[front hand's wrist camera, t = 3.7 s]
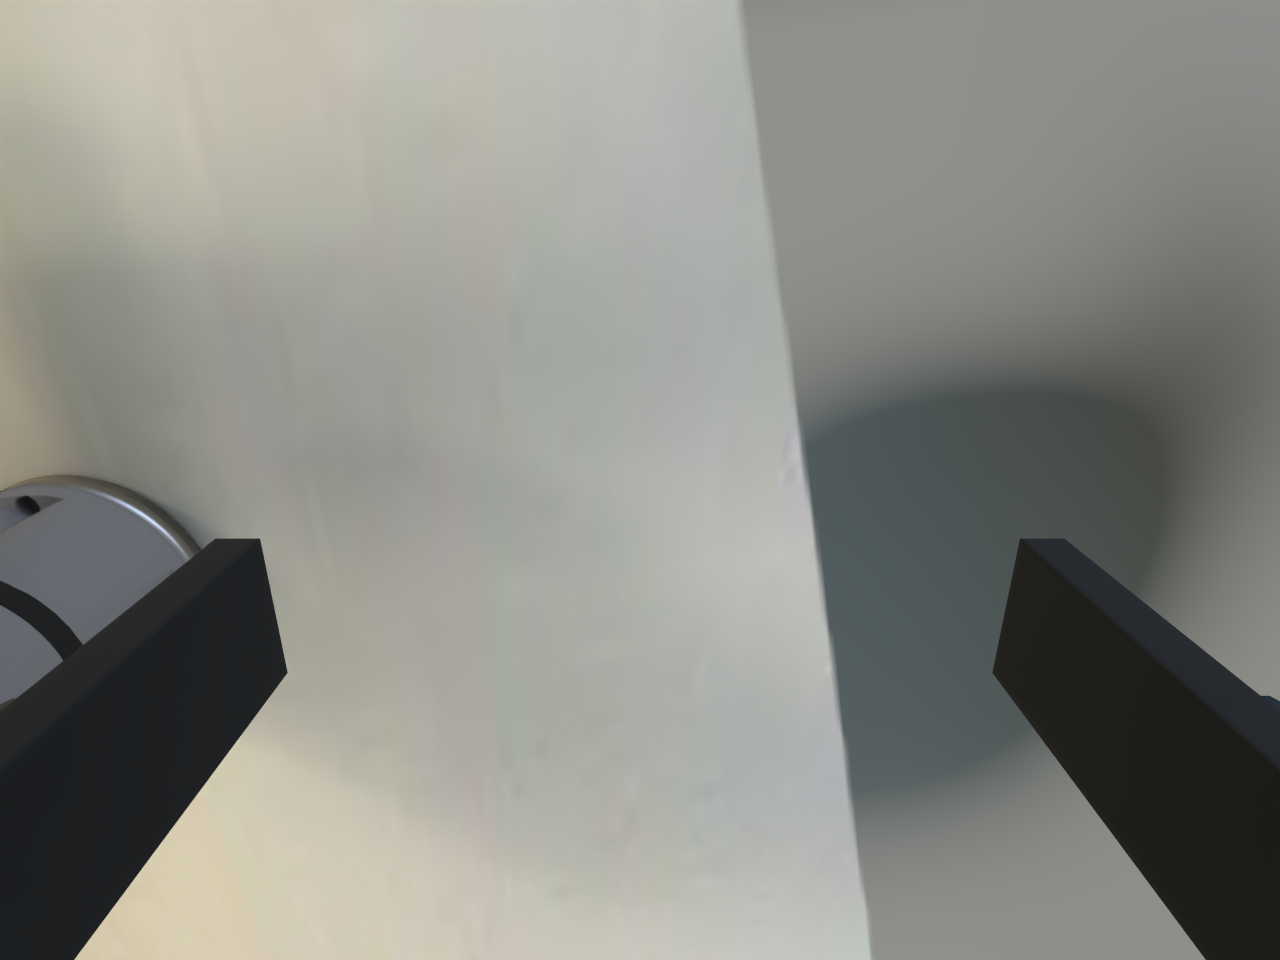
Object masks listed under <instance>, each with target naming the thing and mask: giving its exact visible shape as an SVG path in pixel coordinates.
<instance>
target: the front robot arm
mask: <svg viewBox="0 0 1280 960" xmlns="http://www.w3.org/2000/svg"><path fill="white" fill-rule="evenodd" d="M286 674H287V668H286V663H285V658H284V653H283V649H282V644H281V639H280V634H279V629H278V624H277V619H276V614H275V610H274V605H273V600H272V595H271V590H270V585H269V580H268V575H267V571H266V566H265V561H264V556H263V551H262V546H261V541H260V539H215V540H213V541H212V542H211V543H210V544H208V545H207V546H206V547H205V548H203V549H202V550H201V551H200V549H199V548H198V547H197V545H196V544H195V542H194V541H193V540H192V539H191V537H190V536H189V535H188V534H187V533H186V532H185V531H184V530H183V529H182V528H181V527H180V525H179V524H178V523H177V522H175V521H174V520H173V519H172V518H171V517H170V516H168V515H167V514H166V513H165V512H163V511H162V510H161V509H159V508H158V507H157V506H155V505H154V504H152V503H151V502H149V501H147V500H146V499H144V498H142V497H140V496H138V495H137V494H135V493H133V492H131V491H128V490H126V489H124V488H121V487H119V486H116V485H113V484H110V483H108V482H104V481H100V480H96V479H92V478H86V477H80V476H69V475H53V476H43V477H38V478H33V479H29V480H26V481H23V482H20V483H17V484H15V485H13V486H11V487H8V488H6V489H4V490H2V491H0V960H74V959H75V958H76V956H77V955H78V954H79V952H80V951H81V950H82V948H83V947H84V946H85V944H86V943H87V942H88V940H89V939H90V938H91V936H92V935H93V934H94V932H95V931H96V930H97V928H98V927H99V926H100V924H101V923H102V922H103V920H104V919H105V917H106V916H107V915H108V913H109V912H110V911H111V909H112V908H113V907H114V905H115V904H116V903H117V901H118V900H119V899H120V897H121V896H122V895H123V893H124V892H125V891H126V889H127V888H128V887H129V885H130V884H131V883H132V881H133V880H134V878H135V877H136V876H137V874H138V873H139V872H140V870H141V869H142V868H143V866H144V865H145V864H146V862H147V861H148V860H149V858H150V857H151V856H152V854H153V853H154V852H155V850H156V849H157V848H158V846H159V845H160V844H161V842H162V841H163V839H164V838H165V837H166V835H167V834H168V833H169V831H170V830H171V829H172V827H173V826H174V825H175V823H176V822H177V821H178V819H179V818H180V817H181V815H182V814H183V813H184V811H185V810H186V809H187V807H188V806H189V805H190V803H191V802H192V800H193V799H194V798H195V796H196V795H197V794H198V792H199V791H200V790H201V788H202V787H203V786H204V784H205V783H206V782H207V780H208V779H209V778H210V776H211V775H212V774H213V772H214V771H215V770H216V768H217V767H218V766H219V764H220V763H221V761H222V760H223V759H224V757H225V756H226V755H227V753H228V752H229V751H230V749H231V748H232V747H233V745H234V744H235V743H236V741H237V740H238V739H239V737H240V736H241V735H242V733H243V732H244V731H245V729H246V728H247V727H248V725H249V724H250V722H251V721H252V720H253V718H254V717H255V716H256V714H257V713H258V712H259V710H260V709H261V708H262V706H263V705H264V704H265V702H266V701H267V700H268V698H269V697H270V696H271V694H272V693H273V692H274V690H275V689H276V688H277V686H278V685H279V683H280V682H281V681H282V679H283V678H284V677H285V675H286ZM993 674H994V675H995V677H996V678H997V679H998V681H999V682H1000V683H1001V685H1002V686H1003V688H1004V689H1005V690H1006V691H1007V693H1008V694H1009V696H1010V697H1011V698H1012V700H1013V701H1014V702H1015V704H1016V705H1017V706H1018V708H1019V709H1020V710H1021V712H1022V713H1023V714H1024V716H1025V717H1026V718H1027V720H1028V721H1029V722H1030V724H1031V725H1032V727H1033V728H1034V729H1035V731H1036V732H1037V733H1038V735H1039V736H1040V737H1041V739H1042V740H1043V741H1044V743H1045V744H1046V745H1047V747H1048V748H1049V749H1050V751H1051V752H1052V753H1053V755H1054V756H1055V757H1056V759H1057V760H1058V761H1059V763H1060V764H1061V765H1062V767H1063V768H1064V770H1065V771H1066V772H1067V774H1068V775H1069V776H1070V778H1071V779H1072V780H1073V781H1074V783H1075V784H1076V786H1077V787H1078V788H1079V790H1080V791H1081V792H1082V794H1083V795H1084V796H1085V798H1086V799H1087V800H1088V802H1089V803H1090V805H1091V806H1092V807H1093V809H1094V810H1095V811H1096V813H1097V814H1098V815H1099V817H1100V818H1101V819H1102V821H1103V822H1104V823H1105V825H1106V826H1107V827H1108V829H1109V830H1110V831H1111V833H1112V834H1113V835H1114V837H1115V838H1116V839H1117V841H1118V842H1119V843H1120V845H1121V846H1122V848H1123V849H1124V850H1125V852H1126V853H1127V854H1128V856H1129V857H1130V858H1131V860H1132V861H1133V862H1134V864H1135V865H1136V866H1137V868H1138V869H1139V870H1140V872H1141V873H1142V874H1143V876H1144V877H1145V878H1146V880H1147V881H1148V883H1149V884H1150V885H1151V887H1152V888H1153V889H1154V891H1155V892H1156V893H1157V895H1158V896H1159V897H1160V899H1161V900H1162V901H1163V903H1164V904H1165V905H1166V907H1167V908H1168V909H1169V911H1170V912H1171V913H1172V915H1173V916H1174V917H1175V919H1176V920H1177V922H1178V923H1179V924H1180V926H1181V927H1182V928H1183V930H1184V931H1185V932H1186V934H1187V935H1188V936H1189V938H1190V939H1191V940H1192V942H1193V943H1194V944H1195V946H1196V947H1197V948H1198V950H1199V951H1200V952H1201V954H1202V955H1203V956H1204V958H1205V959H1206V960H1280V701H1278V700H1276V699H1274V698H1272V697H1271V696H1260V695H1259V694H1257V693H1256V692H1255V691H1254V690H1252V689H1251V688H1250V687H1249V686H1247V685H1246V684H1245V683H1244V682H1242V681H1241V680H1240V679H1239V678H1238V677H1236V676H1235V675H1234V674H1233V673H1231V672H1230V671H1229V670H1228V669H1226V668H1225V667H1224V666H1222V665H1221V664H1220V663H1219V662H1217V661H1216V660H1215V659H1214V658H1213V657H1211V656H1210V655H1209V654H1208V653H1206V652H1205V651H1204V650H1203V649H1201V648H1200V647H1199V646H1198V645H1196V644H1195V643H1194V642H1192V641H1191V640H1190V639H1189V638H1188V637H1186V636H1185V635H1184V634H1183V633H1181V632H1180V631H1179V630H1178V629H1176V628H1175V627H1174V626H1173V625H1171V624H1170V623H1169V622H1168V621H1166V620H1165V619H1164V618H1163V617H1161V616H1160V615H1159V614H1158V613H1156V612H1155V611H1154V610H1153V609H1151V608H1150V607H1149V606H1148V605H1146V604H1145V603H1144V602H1143V601H1141V600H1140V599H1139V598H1138V597H1136V596H1135V595H1134V594H1133V593H1131V592H1130V591H1129V590H1128V589H1126V588H1125V587H1124V586H1123V585H1121V584H1120V583H1119V582H1118V581H1116V580H1115V579H1114V578H1113V577H1111V576H1110V575H1109V574H1108V573H1106V572H1105V571H1104V570H1103V569H1102V568H1100V567H1099V566H1098V565H1097V564H1095V563H1094V562H1093V561H1092V560H1090V559H1089V558H1088V557H1086V556H1085V555H1084V554H1083V553H1082V552H1080V551H1079V550H1078V549H1076V548H1075V547H1074V546H1073V545H1072V544H1070V543H1069V542H1068V541H1067V540H1065V539H1020V541H1019V546H1018V551H1017V556H1016V561H1015V566H1014V571H1013V576H1012V580H1011V585H1010V590H1009V595H1008V600H1007V605H1006V610H1005V614H1004V619H1003V624H1002V629H1001V634H1000V639H999V644H998V649H997V654H996V658H995V663H994V668H993Z"/></svg>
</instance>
